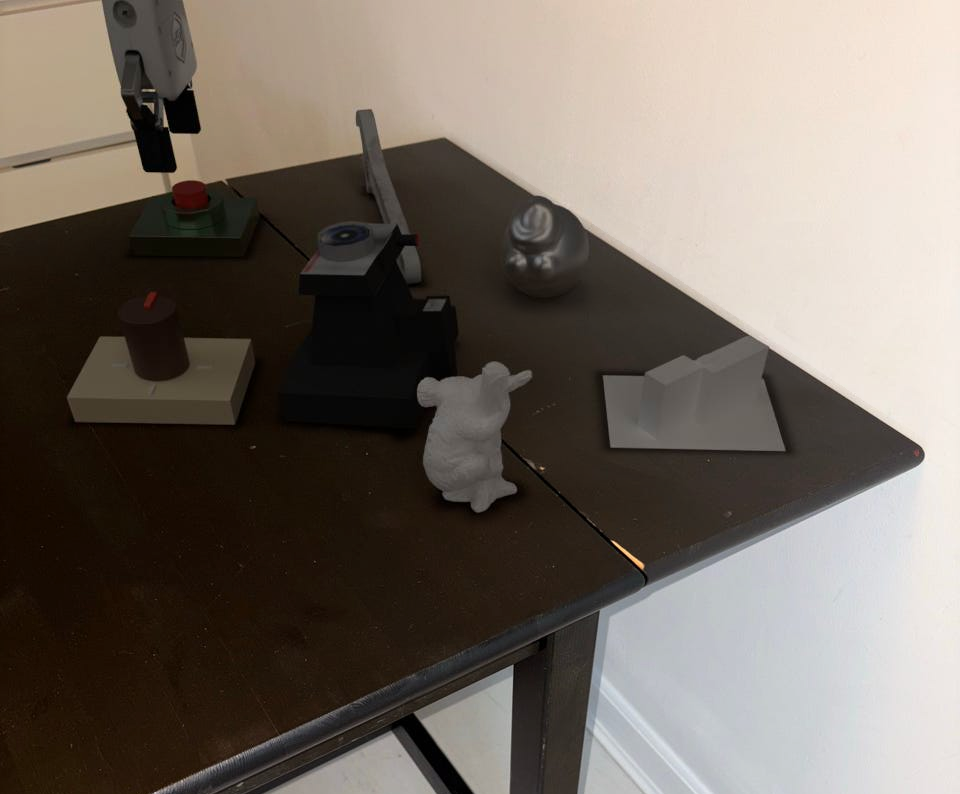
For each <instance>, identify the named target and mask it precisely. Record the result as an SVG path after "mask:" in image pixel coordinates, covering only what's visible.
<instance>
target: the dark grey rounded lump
mask: <svg viewBox="0 0 960 794" xmlns="http://www.w3.org/2000/svg"><path fill="white" fill-rule="evenodd" d="M589 245H590V244H589V239H588V234H587V231H586V229H585V227H584V225H583V224H582V222H581V220H580V219H579V217H577V215H575V213H573V212H572V211H571V210H569V209H567V208H566V207H564V206H561V205H559V204H555V203H553V201H552V200H550V199H549V198H547V197H545V196H543V195H531V196H529V197H527V198H526V199H524V200H523V201H522V202H521V203H519V204H518V205H517V207H515V208H514V209H513V211H512V213H511V216H510V217H509V221H508V224H507V227H506V228H505V230H504V233H503V235H502V239H501V244H500V260H501V264H502V269H503V271H504V273H505V275H506V277H507V278H508V280H509V281H510V283H511V284H512V285H513V286H514V287H515V288H516V289H518V290H519V291H520V292H522V293H523V294H524V295H525V294H526V295H527V296H530V297H534V298H537V299H538V298H539V299H549V298H554V297H557V296H560V295H562V294H565V293H566V292H568V291H569V290H570V289H572V288H573V287H574V286H575V285H576V284H577V283H578V282H579V280H580V279H581V277H582V276H583V274H584V273H585V270H586V269H587V268H586V267H587V264H588V261H589V254H590V246H589Z"/></svg>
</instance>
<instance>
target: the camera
mask: <svg viewBox="0 0 960 794" xmlns="http://www.w3.org/2000/svg"><path fill="white" fill-rule="evenodd" d="M316 236H317V237H316V242H317V246H318V249H317V250H316V251H315V252H314V254H313V255H312V257H311V258H310V259H309V260H308V262H307V264H306V265H304V267H303V269H302V271H301V272H300V273H299V279H298V280H299V282H298V296H314V304H313V314H312V323H311V328H310V330H309V332H307V335H306V336H305V338H304V339H303V341H302V343H301V344H300V345H299V347H298V348H297V350H296V351H295V353H294V354H293V355H292V357H291V359H290V360H289V362H288V364H287V366H286V369H285V370H284V371H285V372H284V373H283V377H282V379H281V381H280V384H279V387H278V388H277V392H276V394H277V397H278V401H279V405H280V409H281V412H282V416H283V419H284V422H292V423H310V424H325V425H326V424H329V425H345V426H347V425H348V426H362V427H363V426H364V427H367V426H368V427H381V428H383V427H384V428H385V427H386V428H400V429H401V428H402V429H416V428H417V426H418V424H419V421H420V419H421V417H422V415H423V413H424V410H425V408H426V407H424V406H421V405H420V403H419V402H418V398H417V388H418V385H419V383H420V382H421V380H424V378H426V377H429V378H434V379H436V380H437V381H441V380H443V379H445V378H449V377H457V376H458V365H457V357H456V356H457V355H456V347H455V344H456V341H457V338H458V337H459V325H458V324H459V323H458V316H457V307H456V306H455V305H452V301H451V295H426V297H425V298H414V297H413V295H412V292H411V289H410V287H409V284H407V282H406V280H405V278H404V276H403V274H402V272H401V270H400V268H399V266H398V264H397V261H396V260H397V258H398V257H399V255H400V253H401V252H402V250H403V248H404V247H405V246H415V247H418V245H419V242H420V241H419V240H420V239H419V235H418V234H412V233H410V234H401V231H400V229H399V227H398V224H384V223H372V222H369V223H368V222H363V221H355V220H351V221H349V220H348V221H341V222H337V223H334V224H330V225H328V226H325V227H323V229H321V230H320V231H319V232H317V235H316Z"/></svg>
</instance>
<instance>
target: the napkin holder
mask: <svg viewBox="0 0 960 794" xmlns="http://www.w3.org/2000/svg"><path fill="white" fill-rule="evenodd" d="M769 349H770V346H769V345H767V344H766V343H764V342H762V341H761V340H758V339H756V338H754V337H753V336H752V335H749V334H748V335H746V336H744V337H741V338H739V339H737V340H735V341H733V342H731V343H729V344H726V345H724V346H722V347H720V348H718V349H716V350H713V351H711V352H709V353H705V354H702V355H701V356H698V357H697V358H696V359H694V360H693V359H692V358H690V357H688V356H687V355H685V354H683V355H680V356H678V357H676V358H674V359H672V360H670V361H667V362H665V363H663V364H661V365H659V366H657V367H654V368H652V369H650V370H648V371H646V372H644V375H607V374H605V375H602V380H603V390H604V400H605V408H606V418H607V427H608V436H609V437H608V438H609V446H610V448H613V449H614V448H615V449H617V448H618V449H660V450H661V449H663V450H664V449H665V450H666V449H667V450H705V451H706V450H708V451H709V450H710V451H712V450H713V451H753V452H754V451H756V452H757V451H758V452H759V451H761V452H762V451H763V452H786V447H785V444H784V442H783V438H782V433H781V431H780V427H779V425H778V421H777V418H776V415H775V411H774V408H773V405H772V402H771V399H770V398H771V397H770V395H769V392H768V388H767V386H766V382H765V379H764V378H763V373H764V369H765V365H766V362H767V358H768V354H769Z"/></svg>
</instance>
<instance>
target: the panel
mask: <svg viewBox="0 0 960 794" xmlns="http://www.w3.org/2000/svg"><path fill="white" fill-rule="evenodd" d="M184 340H185V345H186V349H187V353H188V357H189V362H190V364H189V367H188V369H187V370H186V371H185V372H184V373H183V374H181V375H180V376H178V377H175V378H173V379H169V380H164V381H149V380H145V379H142V378H140V377H139V376H137V375H136V373H135V371H134V368H133V364H132V361H131V357H130V354H129V350H128V347H127V343H126V340H125V336H99V337H98V339H97V341H96V342H95V345H94V347H93V349H92V350H91V352H90V355H89V356H88V358H87V359H86V361H85V363H84V365H83V367H82V368H81V371H80V372H79V374H78V376H77V378H76V380H75V381H74V383H73V385H72V387H71V389H70V391H69V392H68V394H67V397H66V399H67V402H68V405H69V408H70V411H71V414H72V418H73V420H74V422H75V423H105V424H106V423H108V424H109V423H110V424H112V423H113V424H114V423H116V424H167V425H169V424H173V425H229V426H230V425H231V426H235V425H236V423H237V421H238V418H239V415H240V411H241V408H242V405H243V402H244V399H245V395H246V392H247V389H248V387H249V383H250V380H251V378H252V374H253V371H254V368H255V366H256V357H255V353H254V347H253V342H252V339H251V338H222V337H221V338H215V337H213V338H212V337H184Z"/></svg>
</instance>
